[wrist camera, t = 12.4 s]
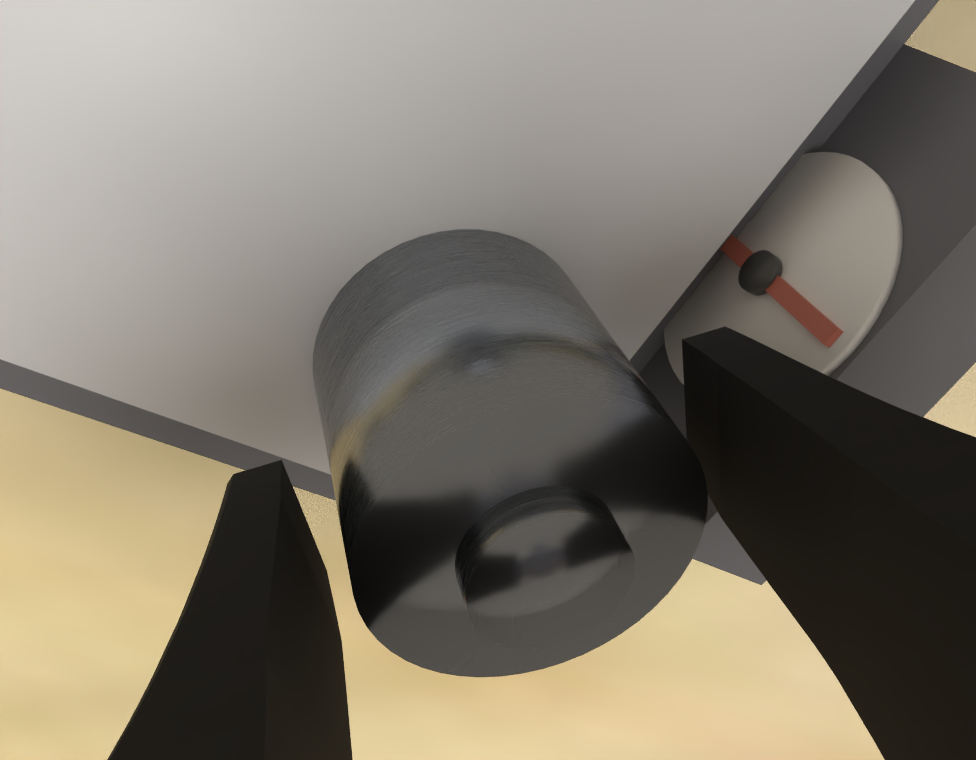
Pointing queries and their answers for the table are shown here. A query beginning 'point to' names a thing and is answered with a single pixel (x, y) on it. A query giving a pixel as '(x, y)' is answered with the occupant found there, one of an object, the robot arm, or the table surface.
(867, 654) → the robot arm
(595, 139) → the scale
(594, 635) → the cylinder
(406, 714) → the table surface
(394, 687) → the table surface
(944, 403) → the table surface
